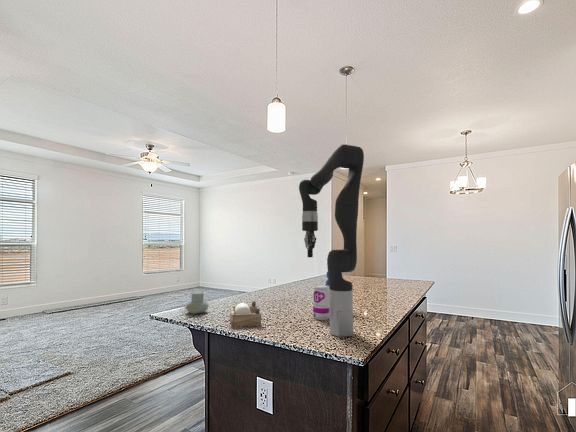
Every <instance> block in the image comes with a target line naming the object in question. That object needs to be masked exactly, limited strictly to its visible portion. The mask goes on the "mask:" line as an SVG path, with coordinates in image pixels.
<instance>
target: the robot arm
mask: <svg viewBox="0 0 576 432" xmlns="http://www.w3.org/2000/svg"><path fill="white" fill-rule="evenodd" d="M364 161H365V155H364V150H363V148H362V147H361V146H356V145H351V144H340V145H338V146H337V147H336V148H335V149H334V150H333V152H332V153H331V155H330V156H329V157H328V158H327V160H326V161H325V162H324V164H323V165H322V167H321V168H320V169H318V170H317V171H316V172H314V174H313V175H311V177H310V179H302V180H300V182H299V186H298V190H299V191H298V192H299V194H300V199H301V202H302V215H301V216H302V217H301V231H302V232H305V235H304V239H303V240H304V245H305V248H306V250H307V258H313V257H314V253H313V251H314V248H315V246H316V241H317V237H316V235H315V232H317V231H319V216H318V215H319V214H318V201H317V200H316V199H313V198H311V196H316V195H319V194H320V193H321V191H322V189H323V188H324V186H326V185H327V184H328V183H330V181H331V180H332V179H333V177H334V176H333V175H334V171H335V170H337V169H339V168H341V169H348V174H347V180H346V181H345V182H346V183H345V184H344V186H343V188H342V189H341V191H340V192H339V194H338V195H337V196H336V197H337V198H336V200H335V203H334V218H335V219H334V220H335V222H336V224H337V226H338V228H339V231H340V232H341V234H342V239H343V249H331V250H330V251H329V252H328V255H327V259H326V265H327V267H326V268H327V272H328V278H327V279H328V282H329V287H330V318H329V334H330V335H332V336H335V337H336V336H337V337H338V338H340V337H341V338H342V337H353V336H354V299H353V297H354V295H353V293H354V292H353V291H354V289H353V282H351V281H349V280H346V279H344V277H343V273H351V272H352V273H353V271H354V270H355V269H356V266H357V263H358V260H357V259H358V252H357V249H358V246H357V232H358V231H357V230H358V218H359V217H358V215H359V199H360V190H361V189H360V188H361V187H360V186H361V179H362V173H363V168H364Z"/></svg>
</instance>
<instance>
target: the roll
mask: <svg viewBox="0 0 576 432" xmlns="http://www.w3.org/2000/svg"><path fill="white" fill-rule="evenodd" d="M249 306H250V305H248V304H247V303H245V302H241V303H238V304H237V305H236V307H235V314H251V310H250V308H249Z"/></svg>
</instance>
